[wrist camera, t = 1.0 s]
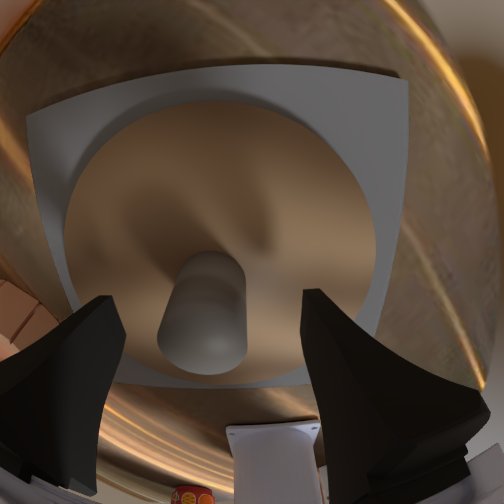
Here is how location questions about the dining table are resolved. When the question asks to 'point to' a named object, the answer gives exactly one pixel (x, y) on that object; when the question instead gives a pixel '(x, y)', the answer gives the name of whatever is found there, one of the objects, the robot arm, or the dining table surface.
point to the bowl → (21, 320)
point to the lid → (218, 238)
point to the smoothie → (192, 495)
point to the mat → (245, 92)
